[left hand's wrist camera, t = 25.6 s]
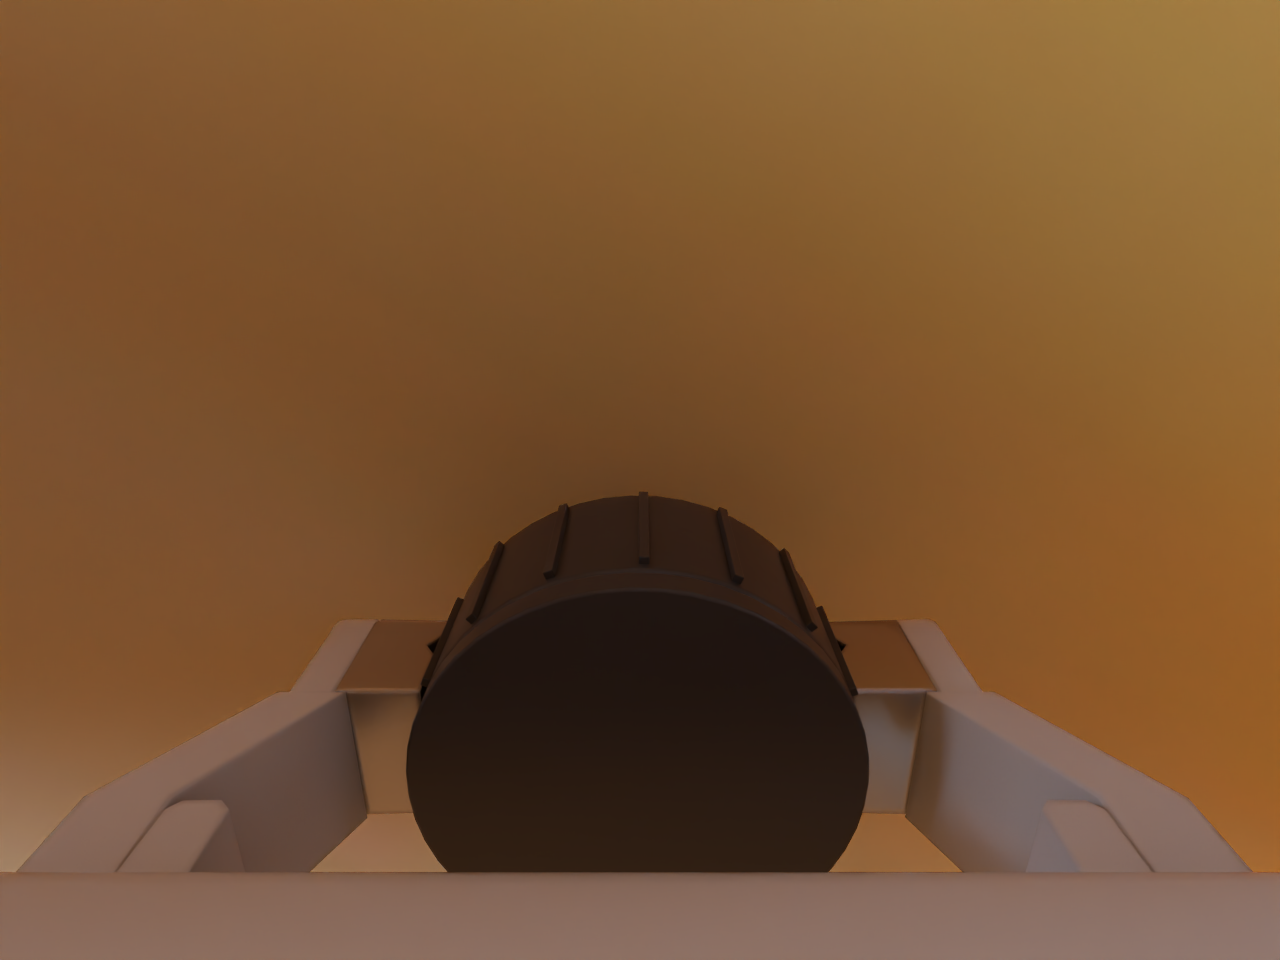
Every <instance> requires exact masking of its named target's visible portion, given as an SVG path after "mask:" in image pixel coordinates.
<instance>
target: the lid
mask: <svg viewBox="0 0 1280 960" xmlns="http://www.w3.org/2000/svg"><path fill="white" fill-rule="evenodd" d="M420 685H422V686H425V687H427V689H426V692H425V694H424V697H423V699H422V701H421V704H420V706H419V709H418V711H417V714H416V716H415V718H414V721H413V723H412V728H411V732H410V736H409V741H408V745H407V757H406V778H407V787H408V795H409V799H410V803H411V806H412V810H413V813H414V817H415V820H416V822H417V824H418V826H419V829H420V831H421V833H422V835H423V837H424V840H425V841H426V843H427V845H428V846H429V848H430V849H431V851H432V852H433V854H434V855H435V857H436V858H437V860H438V861H439V862H440V864H441V865H442V866H443V867H444V868H445V869H446V870H447V872H829V871H830V870H831V868H832V867H833V866H834V864H835V863H836V862H837V860H838V859H839V858H840V856H841V855H842V853H843V852H844V851H845V849H846V847H847V846H848V844H849V842H850V840H851V838H852V836H853V834H854V832H855V831H856V829H857V826H858V823H859V820H860V817H861V815H862V812H863V809H864V806H865V800H866V795H867V789H868V784H869V753H868V747H867V740H866V734H865V731H864V728H863V725H862V722H861V719H860V716H859V713H858V710H857V707H856V705H855V702H854V700H853V698H852V697H853V696H856V695H858V691H857V688H856V685H855V683H854V681H853V678H852V676H851V673H850V671H849V669H848V666H847V664H846V662H845V659H844V657H843V654H842V652H841V650H840V647H839V645H838V642H837V640H836V638H835V635H834V633H833V630H832V628H831V626H830V623H829V621H828V619H827V616H826V614H825V611H824V609H823V607H822V606H820V607H817V608H816V606H815V603H814V601H813V598H812V596H811V595H810V593H809V591H808V589H807V587H806V585H805V583H804V581H803V579H802V578H801V577H800V575H799V574H798V572H797V571H796V570H795V567H794V565H793V562H792V559H791V557H790V554H789V552H788V551H787V550H786V549H785V548H783V549H782V550H781V551H779V550H778V549H777V548H776V547H775V546H774V545H773V544H772V543H770V542H769V541H768V540H766V539H765V538H764V537H763V536H761V535H760V534H759V533H757V532H756V531H755V530H753V529H752V528H750V527H748V526H747V525H745V524H743V523H741V522H740V521H738V520H736V519H734V518H733V517H731V516H728V512H727V510H726V509H723V508H721V507H719V509H718V511H716V510H714V509H711V508H709V507H706V506H702V505H698V504H695V503H691V502H687V501H684V500H678V499H671V498H664V497H657V496H648V492H639V496H622V497H612V498H603V499H598V500H594V501H589V502H585V503H580V504H577V505H574V506H571V507H568V505H567V503H566V504H563V505H560V506H559V509H558V511H557V512H554V513H552V514H550V515H548V516H546V517H544V518H542V519H540V520H538V521H536V522H534V523H532V524H531V525H529V526H528V527H526V528H525V529H523V530H522V531H520V532H519V533H517V534H516V535H515V536H513V537H512V538H510V539H509V540H508V541H507V542H506V543H505V544H504V545H503V544H502V543H501V542H500V541H499V542H498V543H497V544H496V545H495V546H494V548H493V550H492V553H491V555H490V558H489V560H488V561H487V562H486V564H485V565H484V566H483V567H482V568H481V570H480V571H479V572H478V574H477V576H476V577H475V579H474V581H473V582H472V584H471V585H470V587H469V589H468V591H467V593H466V595H465V598H464V599H461V598H459V597H458V598H457V600H456V602H455V604H454V607H453V609H452V611H451V614H450V616H449V618H448V621H447V623H446V625H445V627H444V630H443V632H442V634H441V637H440V639H439V641H438V644H437V646H436V648H435V651H434V653H433V655H432V658H431V660H430V662H429V665H428V667H427V669H426V672H425V674H424V676H423V679H422V681H421V683H420Z"/></svg>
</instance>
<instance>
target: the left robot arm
mask: <svg viewBox="0 0 1280 960" xmlns="http://www.w3.org/2000/svg"><path fill="white" fill-rule="evenodd" d="M446 623H447V621H427V620H378V619H350V620H342V621H339V622H337V623H336V624H335V626H334V627H333V629H332V630H331V632H330V633H329V635H328V636H327V638H326V639H325V641H324V642H323V643H322V645H321V646H320V648H319V649H318V651H317V652H316V654H315V655H314V657H313V658H312V660H311V661H310V663H309V664H308V665H307V667H306V668H305V670H304V671H303V673H302V674H301V676H300V677H299V679H298V680H297V682H296V683H295V684H294V686H293V687H292V689H291V690H290V692H277V693H275V694H273V695H271V696H269V697H267V698H266V699H264V700H262V701H260V702H258V703H256V704H254V705H253V706H251V707H249V708H247V709H245V710H243V711H242V712H240V713H238V714H236V715H234V716H232V717H230V718H229V719H227V720H225V721H223V722H221V723H219V724H218V725H216V726H214V727H212V728H210V729H208V730H206V731H205V732H203V733H201V734H199V735H197V736H195V737H193V738H192V739H190V740H188V741H186V742H184V743H182V744H181V745H179V746H177V747H175V748H173V749H171V750H169V751H168V752H166V753H164V754H162V755H160V756H158V757H156V758H155V759H153V760H151V761H149V762H147V763H145V764H144V765H142V766H140V767H138V768H136V769H134V770H132V771H131V772H129V773H127V774H125V775H123V776H121V777H120V778H118V779H116V780H114V781H112V782H110V783H108V784H107V785H105V786H103V787H101V788H99V789H97V790H95V791H94V792H92V793H90V794H88V795H86V796H84V797H83V798H82V799H81V800H80V802H79V803H78V804H77V805H76V806H75V807H74V808H73V809H72V810H71V812H70V813H69V814H68V815H67V816H66V817H65V818H64V819H63V820H62V822H61V823H60V824H59V825H58V826H57V827H56V828H55V829H54V830H53V832H52V833H51V834H50V835H49V836H48V837H47V838H46V839H45V840H44V842H43V843H42V844H41V845H40V846H39V847H38V848H37V849H36V851H35V852H34V853H33V854H32V855H31V856H30V857H29V858H28V859H27V861H26V862H25V863H24V864H23V865H22V866H21V867H20V868H19V869H18V871H17V872H0V960H1280V872H1253V871H1252V870H1251V869H1250V868H1249V867H1248V866H1247V865H1246V863H1245V862H1244V861H1243V860H1242V859H1241V858H1240V857H1239V855H1238V854H1237V853H1236V852H1235V851H1234V850H1233V849H1232V848H1231V846H1230V845H1229V844H1228V843H1227V842H1226V841H1225V840H1224V838H1223V837H1222V836H1221V835H1220V834H1219V833H1218V832H1217V830H1216V829H1215V828H1214V827H1213V826H1212V825H1211V824H1210V822H1209V821H1208V820H1207V819H1206V818H1205V817H1204V816H1203V814H1202V813H1201V812H1200V811H1199V810H1198V809H1197V808H1196V806H1195V805H1194V804H1193V803H1192V802H1191V801H1190V800H1189V798H1187V797H1185V796H1183V795H1182V794H1180V793H1178V792H1176V791H1174V790H1173V789H1171V788H1169V787H1167V786H1165V785H1163V784H1162V783H1160V782H1158V781H1156V780H1154V779H1152V778H1151V777H1149V776H1147V775H1145V774H1143V773H1141V772H1140V771H1138V770H1136V769H1134V768H1132V767H1131V766H1129V765H1127V764H1125V763H1123V762H1121V761H1120V760H1118V759H1116V758H1114V757H1112V756H1110V755H1109V754H1107V753H1105V752H1103V751H1101V750H1100V749H1098V748H1096V747H1094V746H1092V745H1090V744H1089V743H1087V742H1085V741H1083V740H1081V739H1079V738H1078V737H1076V736H1074V735H1072V734H1070V733H1068V732H1067V731H1065V730H1063V729H1061V728H1059V727H1058V726H1056V725H1054V724H1052V723H1050V722H1048V721H1047V720H1045V719H1043V718H1041V717H1039V716H1037V715H1036V714H1034V713H1032V712H1030V711H1028V710H1026V709H1025V708H1023V707H1021V706H1019V705H1017V704H1016V703H1014V702H1012V701H1010V700H1008V699H1006V698H1005V697H1003V696H1001V695H999V694H997V693H995V692H982V690H981V689H980V687H979V686H978V684H977V683H976V681H975V680H974V678H973V677H972V675H971V674H970V672H969V671H968V669H967V668H966V666H965V665H964V663H963V662H962V660H961V659H960V658H959V656H958V655H957V653H956V652H955V650H954V649H953V647H952V646H951V644H950V643H949V641H948V640H947V638H946V637H945V635H944V634H943V632H942V631H941V629H940V628H939V626H938V625H937V624H936V622H934V621H932V620H931V619H911V620H887V621H848V622H829V623H830V626H831V628H832V630H833V633H834V635H835V638H836V640H837V642H838V645H839V647H840V650H841V652H842V654H843V657H844V659H845V662H846V664H847V666H848V669H849V671H850V673H851V676H852V678H853V681H854V683H855V685H856V688H857V691H858V695H856V696H853V697H852V698H853V700H854V702H855V705H856V707H857V710H858V713H859V716H860V719H861V722H862V725H863V728H864V731H865V734H866V740H867V747H868V753H869V784H868V789H867V795H866V800H865V806H864V809H863V812H862V813H890V814H906V816H905V817H906V818H907V819H908V820H909V821H910V822H911V823H912V824H913V825H914V826H915V827H916V828H917V829H918V830H919V831H920V832H922V833H923V834H924V835H925V836H926V837H927V838H928V839H929V840H930V841H931V842H932V843H933V844H934V845H935V846H936V847H937V848H938V849H939V850H940V851H941V852H943V853H944V854H945V855H946V856H947V857H948V858H949V859H950V860H951V861H952V862H953V863H954V864H955V865H956V866H957V867H958V868H959V869H960V870H961V871H962V872H310V871H311V870H312V869H313V868H314V867H315V866H316V865H317V864H319V863H320V862H321V861H322V860H323V859H324V858H325V857H326V856H327V855H328V854H329V853H330V852H331V851H332V850H333V849H334V848H336V847H337V846H338V845H339V844H340V843H341V842H342V841H343V840H344V839H345V838H346V837H347V836H348V835H349V834H350V833H351V832H353V831H354V830H355V829H356V828H357V827H358V826H359V825H360V824H361V823H362V822H363V821H364V820H365V819H366V818H367V814H382V813H413V810H412V806H411V803H410V799H409V795H408V787H407V778H406V757H407V745H408V741H409V736H410V732H411V728H412V723H413V721H414V718H415V716H416V714H417V711H418V709H419V706H420V704H421V701H422V699H423V697H424V694H425V692H426V689H427V687H425V686H422V685H420V683H421V681H422V679H423V676H424V674H425V672H426V669H427V667H428V665H429V662H430V660H431V658H432V655H433V653H434V651H435V648H436V646H437V644H438V641H439V639H440V637H441V634H442V632H443V630H444V627H445V625H446Z"/></svg>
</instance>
